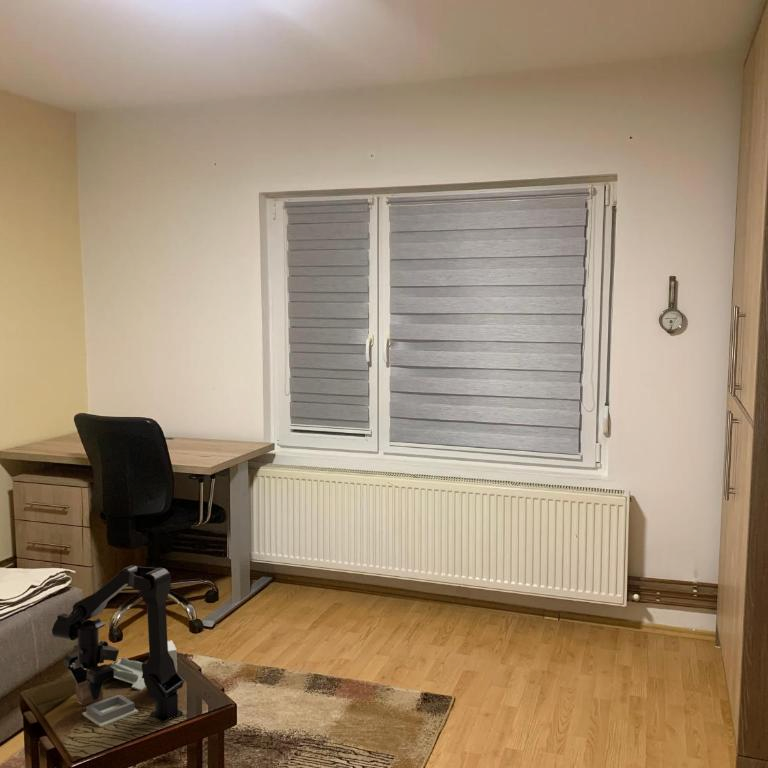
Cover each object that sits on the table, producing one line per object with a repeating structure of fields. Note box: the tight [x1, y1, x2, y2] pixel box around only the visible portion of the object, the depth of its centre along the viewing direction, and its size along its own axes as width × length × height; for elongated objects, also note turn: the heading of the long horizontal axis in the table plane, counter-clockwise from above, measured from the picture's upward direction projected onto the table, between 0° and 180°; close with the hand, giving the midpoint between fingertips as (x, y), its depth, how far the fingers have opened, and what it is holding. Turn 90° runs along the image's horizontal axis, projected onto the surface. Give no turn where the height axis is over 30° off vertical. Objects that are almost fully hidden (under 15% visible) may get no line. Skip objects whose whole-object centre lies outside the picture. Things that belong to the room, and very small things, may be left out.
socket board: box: [82, 694, 139, 728], centre depth 214 cm, size 10×11×2 cm
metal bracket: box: [107, 656, 146, 691], centre depth 236 cm, size 14×6×15 cm
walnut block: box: [75, 681, 104, 706], centre depth 222 cm, size 4×6×5 cm, turn 138°
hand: (89, 695), depth 222 cm, fingers open, 7 cm apart
